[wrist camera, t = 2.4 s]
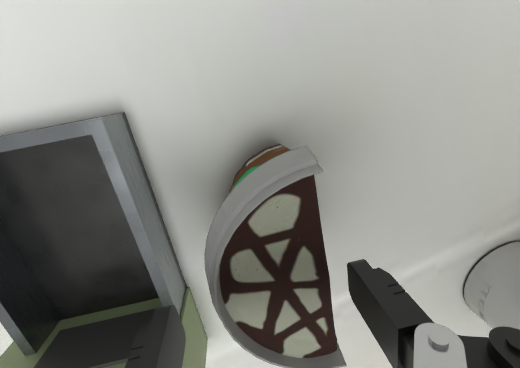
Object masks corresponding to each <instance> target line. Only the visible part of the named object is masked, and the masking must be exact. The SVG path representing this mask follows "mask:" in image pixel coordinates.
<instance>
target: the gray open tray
mask: <svg viewBox="0 0 520 368" xmlns="http://www.w3.org/2000/svg"><path fill="white" fill-rule="evenodd" d="M186 290H187V287H186V284H185V281H184V278H183V275H182V273H181V270H180V267H179V264H178V261H177V259H176V256H175V253H174V250H173V247H172V245H171V242H170V239H169V236H168V233H167V231H166V228H165V225H164V222H163V219H162V217H161V214H160V211H159V208H158V205H157V203H156V200H155V197H154V194H153V191H152V189H151V186H150V183H149V180H148V177H147V175H146V172H145V169H144V166H143V163H142V161H141V158H140V155H139V152H138V149H137V147H136V144H135V141H134V138H133V135H132V133H131V130H130V127H129V124H128V121H127V119H126V116H125V113H124V112H123V113H118V114H113V115H108V116H103V117H98V118H93V119H88V120H82V121H77V122H72V123H67V124H62V125H57V126H52V127H47V128H42V129H37V130H32V131H26V132H21V133H16V134H11V135H6V136H1V137H0V322H1V324H2V325H3V326H4V328H5V329H6V331H7V332H8V333H9V335H10V336H11V338H12V339H13V340H14V342H15V343H16V344H17V346H18V347H19V349H20V350H21V351H22V353H23V354H24V355H25V356H28V355H32V354H36V353H37V352H38V350H39V349H40V347H41V346H42V345H43V343H44V342H45V341H46V339H47V338H48V337H49V335H50V334H51V333H52V331H53V330H54V328H55V327H56V326H57V324H58V323H59V322H60V320H64V319H69V318H73V317H77V316H82V315H86V314H90V313H95V312H99V311H104V310H108V309H112V308H117V307H121V306H126V305H130V304H134V303H139V302H143V301H148V300H152V299H156V298H160V301H161V303H162V306H163V307H165V306H169V305H175V307H176V309H177V312H178V314H179V317H180V318H181V313H182V308H183V304H184V299H185V294H186Z"/></svg>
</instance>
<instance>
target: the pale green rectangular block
mask: <svg viewBox="0 0 520 368" xmlns="http://www.w3.org/2000/svg"><path fill="white" fill-rule="evenodd" d="M161 307H163V306H162V303H161V301H160V298H156V299H152V300H148V301H143V302H139V303H134V304H130V305H126V306H121V307H117V308H112V309H108V310H104V311H99V312H95V313H90V314H86V315H82V316H77V317H73V318H69V319H64V320H60V322H59V323H58V324H57V326H56V327H55V328H54V330H53V331H52V333H51V334H50V335H49V337H48V338H47V339H46V341H45V342H44V343H43V345H42V346H41V347H40V349H39V350H38V352H37V353H36V354H32V355H28V356H25V355H24V354H23V353H22V351H21V350H20V349H19V347H18V346H17V344H16V343H15V342H14V341H13V343H12V344H11V345H10V346H9V347H8V348H7V350H6V351H5V352H4V353H3V354H2V355H1V357H0V368H125V365H126V363H127V362H128V357H129V354H130V351H132V349H131V348H132V346H133V343H134V340H135V337H136V335H137V334H138V333H139V331H140V330H141V329H142V327H143V326H144V324H148V323H151V320H152V317H153V314H154V311H155V309H157V308H161ZM180 319H181V322H182V324H183V327H184V330H185V336H186V344H185V351H184V358H183V365H182V368H205V363H206V351H207V340H208V339H207V336H206V333H205V331H204V328H203V325H202V322H201V319H200V316H199V314H198V311H197V308H196V305H195V302H194V300H193V297H192V294H191V291H190V288H189V287H188V288H187V290H186V294H185V299H184V304H183V308H182V313H181V318H180Z"/></svg>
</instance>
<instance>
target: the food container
mask: <svg viewBox="0 0 520 368" xmlns="http://www.w3.org/2000/svg"><path fill="white" fill-rule="evenodd" d="M320 172H323V169H322V168H321V167H320V166H319V165H318V164H317V159H316V157H315V156H314V155H313V153H312V152H311V151H310V150H309V148H308V147H307V146H304V147H301V148H298V149H294V150H290V149H288V148H286V147H284V146H283V145H281V144H278V145H275V146H272V147H269V148H266V149H264V150H262V151H261V152H259V153H258V154H256V155H255V156H253V157H252V158H250V159H249V160H248V161H247V162H246V163H245V164H244V165H243V167H242V168H241V169H240V170H239V172H238V173H237V174H236V176H235V178H234V181H233V184H232V186H231V189H230V191H229V195H228V196H227V198H226V199H225V200H224V202H223V203H222V204H221V206H220V208H219V210H218V212H217V214H216V215H215V217H214V219H213V221H212V224H211V227H210V230H209V233H208V236H207V241H206V248H205V271H206V276H207V280H208V285H209V290H210V294H211V298H212V303H213V305H214V307H215V310H216V312H217V314H218V316H219V318H220V319H221V321H222V322H223V325H224V327H225V328H226V330H227V331H228V332H229V334H230V335H231V337H232V338H233V339H234V340H235V341H236V342H237V343H238V344H239V345H240V346H241V347H242V348H243V349H244V350H246V351H247V352H249V353H251V354H252V355H254V356H255V357H257V358H259V359H261V360H263V361H265V362H268V363H270V364H273V365H277V366H280V367H284V368H339V367H344V366H347V365H346V363H345V360H344V358H343V355H342V353H341V350H340V348H339V345H338V343H337V338H336V335H335V329H334V321H333V313H332V303H331V291H330V278H329V272H328V266H327V260H326V255H325V248H324V242H323V235H322V229H321V222H320V214H319V207H318V200H317V192H316V185H315V178H314V174H317V173H320Z"/></svg>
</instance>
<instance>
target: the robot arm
mask: <svg viewBox="0 0 520 368" xmlns="http://www.w3.org/2000/svg"><path fill="white" fill-rule="evenodd" d="M347 271H348V284H349V292H350V295H351V298H352V300H353V302H354V304H355V306H356V307H357V309H358V311H359V312H360V314H361V316H362V317H363V319H364V320H365V322H366V324H367V325H368V327H369V329H370V330H371V332H372V334H373V335H374V337H375V339H376V340H377V342H378V343H379V345H380V347H381V348H382V350H383V352H384V353H385V355H386V357H387V358H388V360H389V362H390V363H391V365H392V367H393V368H520V241H518V242H514V243H509V244H507V245H504V246H502V247H499V248H497V249H496V250H494V251H492V252H491V253H489V254H488V255H487V256H485V257H484V258H483V259H482V260H481V261H480V262H479V263H478V264H477V265H476V266H475V267H474V269H473V270H472V272H471V273H470V275H469V277H468V279H467V281H466V284H465V288H464V298H465V301H466V304H467V305H468V306H469V308H470V309H471V310H473V311H474V312H475V313H476V314H477V315H478V316H479V317H480V318H481V319H483V320H484V321H485V322H486V323H487V324H488V325H489V326H490V327H491V328H493V329H492V330H491V331H490V333H489V338H486V337H470V336H460V335H457V334H455V333H454V332H453V331H452V330H450V329H449V328H447V327H445V326H443V325H440V324H436V323H434V322H433V321H432V320H431V319H430V318H429V317H428V316H427V314H426V313H425V312H424V311H423V310H422V309H421V308H420V307H419V306H418V304H417V303H416V302H415V301H414V300H413V299H412V298H411V297H410V296H409V294H408V293H407V292H405V290H404V289H403V288H402V287H401V286H400V285H399V284H398V282H397V281H396V280H395V279H394V278H393V277H392V276H391V274H389V273H387V272H386V271H384V270H382V269H380V268H376V269H373V268H372V267H371V266H370V265H369V264H368V262H367V261H366V260H364V259H362V260H358V261H353V262H349V263H348V264H347ZM185 344H186V336H185V330H184V327H183V324H182V322H181V319H180V317H179V314H178V312H177V309H176V307H175V305H169V306H165V307H161V308H157V309H155V311H154V314H153V317H152V320H151V323H148V324H144V326H143V327H142V329H141V330H140V331H139V333H138V334H137V335H136V337H135V340H134V343H133V346H132V348H131V349H132V351H130V354H129V357H128V362H127V363H126V365H125V368H182V365H183V358H184V351H185Z"/></svg>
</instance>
